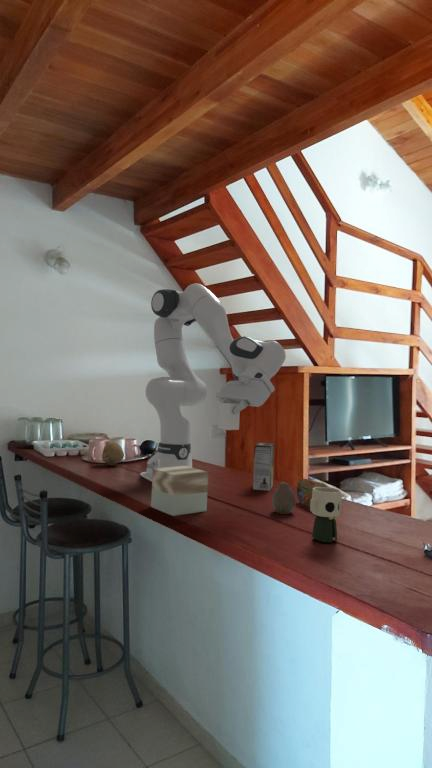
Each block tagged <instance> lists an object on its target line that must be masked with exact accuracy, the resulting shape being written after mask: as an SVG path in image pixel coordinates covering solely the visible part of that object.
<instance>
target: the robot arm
mask: <svg viewBox="0 0 432 768" xmlns="http://www.w3.org/2000/svg"><path fill="white" fill-rule="evenodd" d="M223 305H224V304H222V302H221V301H220V299H219V298H218V297H217V296H216V295H215V294H214V293H213V292H212V291H211V290H210V289H208V288H207V287H205V286H204V285H203V284H201V283H196V282H195V283H192V284H191V283H190V284H189V285H188V286H187V287H186V288H185V289H184V290H183V291H182V290H176V289H169V288H167V289H166V288H165V289H164V288H163V289H158V290H156V292H154V294H153V295H152V298H151V301H150V307H151V311H152V312H153V314H155V315H156V316H158V318H156V319H155V321H154V326H153V337H154V339H153V340H154V341H153V342H154V347H155V353H156V354H155V355H156V359H157V360H156V361H157V364H158V366H159V367H160V368H161V369H162V370H163V371H164V372H166V373H167V374H168V375H169V377H168V376H161V377H156V378H151V379H150V380H149V381H148V383H147V384H146V386H145V397H146V399H147V401H148V402H149V404H151V406H153V408H154V409H155V410H156V412H157V415H158V418H159V423H160V440H159V442H158V443H156V445H157V449H156V451H157V452H156V453H154V455H152V456H151V457H150V458H149V459H148V461H147V462H146V471H142V472H140V474H139V475H140V476H141V477H143V478H144V479H145V480H147V481H149V482H151V483H152V476H153V468H164V467H175V466H189V467H192V468H193V458H192V456H191V455H190V454H191V449H192V447H191V441H190V440H191V439H190V438H191V423H190V421H189V420H188V419H187V418H186V417H184V416H183V415H182V412H181V407H192V406H197V405H200V404H202V403H203V402H204V401H205V400H206V397H207V393H208V390H207V385H206V383H205V382H204V381H203V380H201V379H200V378H199V377H198V376H197V375H196V374H195V372H194V371H193V369H192V367H191V366H190V363H189V360H188V358H187V354H186V353H187V352H186V349H185V343H184V338H183V331H182V330H183V326H187V327H190V326H191V325H192V324H193V323H195V322H197V324H198V325H199V326H201V328H202V329H203V330H204V332H205V333H206V335H208V337H209V338H210V340H211V341H212V342H213V344H215V346H216V348H217V349H218V351H219V352H220V353H221V355H222V356H223V357H224V359H225V360H226V362H227V363H228V364H229V366H230V368H231V369H230V370H231V373H232V377H233V380H229V381H227V382H226V383H225V384H224V385H223V386H222V387H221V388H220V389H219V390H218V391H217V392H216V394H215V397H216V398H217V400H218V401H219V403H235V404H239V405H237V406H236V407H234V408H233V409H232V412H233V414H238V413H239V412H240V413H241V412H242V411H243V410H245V409H246V408H247V407H248V406H249V407H257V408H259V407H261V406H263V405H264V403H265V402H266V401H267V400H268V399H269V398H270V396H271V394H272V393H274V391H276V389H275V386H274V385H273V383H272V382H271V381H270V380H271V379H272V378H273V377H274V376H276V374H277V373H278V372H279V370H280V369H281V368H282V366H283V364H284V362H285V360H286V357H287V356H286V351H285V348H284V347H283V346H282V344H280V342H277V340H276V341H275V340H268V341H261V340H257V339H254V338H252V337H249V336H244V335H243V336H239V337H236V338H235V339H234V338H233V336H232V333H231V330H230V326H229V325H230V324H229V321H228V315H227V312H226V309H225V307H224V306H223Z"/></svg>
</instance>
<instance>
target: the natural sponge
mask: <svg viewBox="0 0 432 768" xmlns="http://www.w3.org/2000/svg"><path fill="white" fill-rule="evenodd" d="M124 457H125V452H124V451H123V448H122V446H121V445H120V443H117V442H115V441H113V442H109V443H106V444H105V446H104V448H103V450H102V453H101V459H102V461H103V462H104V463H105V464H107V465H109V466H111V467H113V466H115V465H116V464H117V463H119V462H121V461H122V460H123V459H124Z"/></svg>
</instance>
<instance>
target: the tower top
mask: <svg viewBox="0 0 432 768" xmlns="http://www.w3.org/2000/svg"><path fill="white" fill-rule="evenodd" d="M151 483H152V484H151V489H152V488H153V489H156V490H159V491H161V492H164V493H167V494H170V495H172V496H179V495H187V494H195V493H203V492H207V493H208V491H209V490H208V488H209V487H208V486H209V471H206V470H203V469H200V468H196V467H193V466H192V467H189V466H175V467H164V468H153V476H152V482H151Z"/></svg>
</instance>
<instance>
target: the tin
mask: <svg viewBox="0 0 432 768" xmlns="http://www.w3.org/2000/svg"><path fill="white" fill-rule="evenodd" d="M315 487H328V485H327V484H325V483H324V482H321V481H317V480H314V479H311V478H301V479H300V480H299V482H298V484H297V486H296V496H297V499H298V501H299V503H300V504H301V505H303V506H305V507H309V508H310V500H311V499H312V490H313V488H315Z"/></svg>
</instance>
